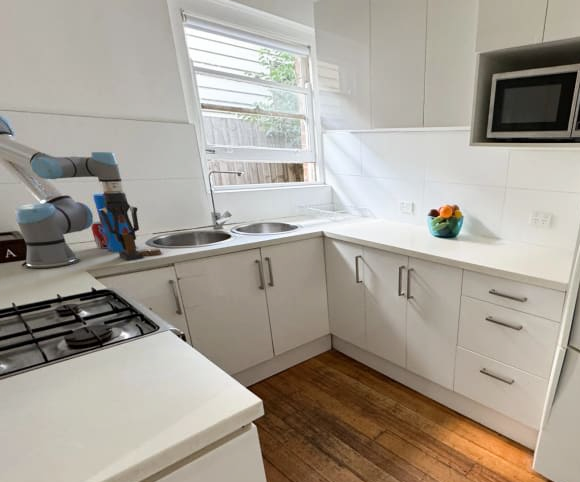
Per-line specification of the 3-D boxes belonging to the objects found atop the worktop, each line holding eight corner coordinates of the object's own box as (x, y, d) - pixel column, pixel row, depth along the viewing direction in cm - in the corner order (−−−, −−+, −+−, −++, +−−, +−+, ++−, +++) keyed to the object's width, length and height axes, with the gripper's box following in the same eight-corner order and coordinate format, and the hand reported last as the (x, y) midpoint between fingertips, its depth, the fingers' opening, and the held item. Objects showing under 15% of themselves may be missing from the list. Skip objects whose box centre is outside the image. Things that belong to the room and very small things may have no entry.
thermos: (103, 249, 179) (87, 194, 170) (128, 245, 188) (114, 192, 178) (116, 252, 174) (100, 196, 165) (141, 248, 183) (127, 194, 174)
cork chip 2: (150, 255, 171) (149, 251, 170) (149, 253, 174) (148, 249, 173) (161, 254, 174) (160, 250, 173) (160, 252, 176) (159, 248, 176)
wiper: (127, 260, 162) (120, 236, 159) (119, 256, 168) (113, 233, 165) (143, 257, 167) (137, 234, 163) (135, 254, 173) (129, 232, 169)
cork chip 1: (140, 256, 169) (139, 252, 169) (136, 254, 172) (135, 250, 171) (150, 254, 172) (149, 250, 172) (146, 253, 175) (145, 249, 174)
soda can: (100, 249, 179) (92, 224, 174) (95, 247, 183) (87, 222, 178) (117, 247, 184) (110, 222, 179) (112, 245, 188) (105, 220, 183)
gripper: (92, 194, 149) (109, 252, 158) (139, 191, 161) (153, 246, 170) (86, 192, 154) (104, 250, 162) (133, 190, 165) (146, 243, 174)
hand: (129, 248), depth 166 cm, fingers closed on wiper, 3 cm apart
